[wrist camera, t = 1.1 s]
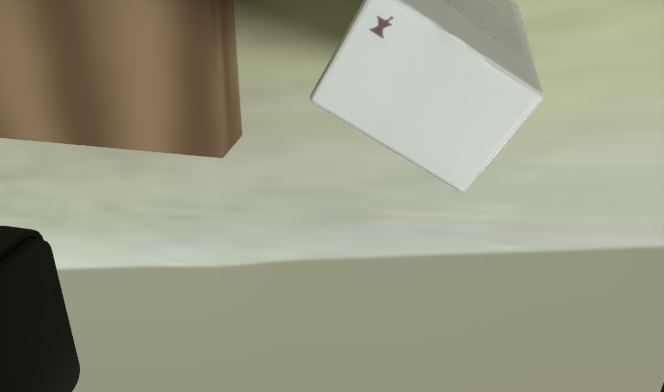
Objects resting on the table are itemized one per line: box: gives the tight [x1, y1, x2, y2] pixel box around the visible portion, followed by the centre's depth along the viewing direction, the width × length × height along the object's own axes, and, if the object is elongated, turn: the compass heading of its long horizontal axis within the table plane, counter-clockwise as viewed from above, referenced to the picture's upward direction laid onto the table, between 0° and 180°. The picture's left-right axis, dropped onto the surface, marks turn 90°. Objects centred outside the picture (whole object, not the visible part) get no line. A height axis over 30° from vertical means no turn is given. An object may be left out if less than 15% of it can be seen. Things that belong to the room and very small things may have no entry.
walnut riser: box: [0, 0, 242, 158], centre depth 31 cm, size 14×12×3 cm
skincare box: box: [310, 0, 544, 193], centre depth 24 cm, size 6×4×12 cm
